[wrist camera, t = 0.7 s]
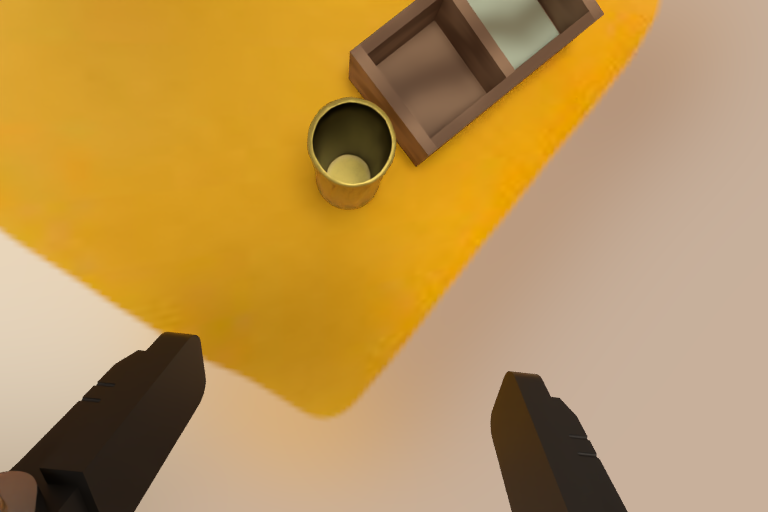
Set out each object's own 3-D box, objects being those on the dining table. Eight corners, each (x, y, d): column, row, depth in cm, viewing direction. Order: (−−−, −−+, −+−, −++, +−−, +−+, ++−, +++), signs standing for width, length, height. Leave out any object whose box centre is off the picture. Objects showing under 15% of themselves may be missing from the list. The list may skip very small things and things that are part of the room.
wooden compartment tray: (348, 78, 34) (350, 51, 29) (507, -46, 35) (535, -94, 30) (416, 166, 36) (428, 155, 31) (567, 44, 37) (603, 14, 32)
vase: (385, 154, 35) (414, 104, 21) (371, 216, 36) (391, 206, 22) (323, 139, 35) (311, 75, 20) (310, 201, 35) (288, 181, 21)
